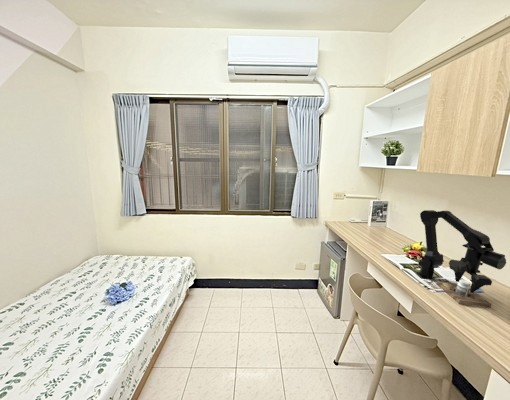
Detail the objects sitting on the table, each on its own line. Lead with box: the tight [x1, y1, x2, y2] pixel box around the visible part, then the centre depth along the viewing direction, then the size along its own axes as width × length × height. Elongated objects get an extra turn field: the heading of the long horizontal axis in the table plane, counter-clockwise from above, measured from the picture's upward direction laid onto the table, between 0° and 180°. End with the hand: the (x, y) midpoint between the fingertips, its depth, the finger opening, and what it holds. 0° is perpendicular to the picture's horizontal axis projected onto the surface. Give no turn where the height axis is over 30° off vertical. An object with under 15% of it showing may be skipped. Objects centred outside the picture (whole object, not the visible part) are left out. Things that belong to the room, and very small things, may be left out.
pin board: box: [436, 280, 493, 309], centre depth 113 cm, size 16×14×2 cm
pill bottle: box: [455, 279, 471, 297], centre depth 112 cm, size 5×5×8 cm
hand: (464, 286), depth 111 cm, fingers open, 9 cm apart
